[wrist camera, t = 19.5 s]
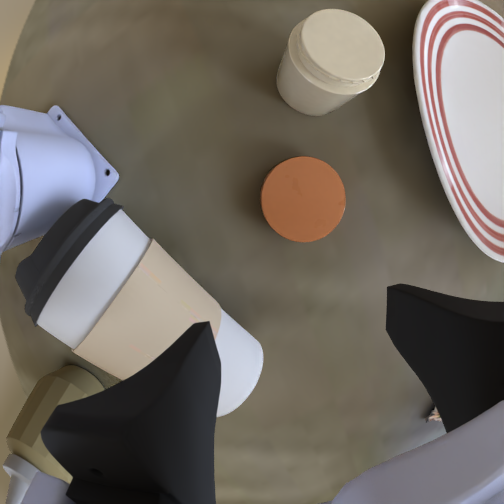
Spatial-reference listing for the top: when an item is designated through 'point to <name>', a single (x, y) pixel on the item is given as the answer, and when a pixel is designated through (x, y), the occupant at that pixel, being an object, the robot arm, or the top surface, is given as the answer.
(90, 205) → the coffee cup
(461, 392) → the robot arm
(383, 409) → the top surface
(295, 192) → the lid
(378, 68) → the jar
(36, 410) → the squeeze bottle
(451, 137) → the dinner plate
